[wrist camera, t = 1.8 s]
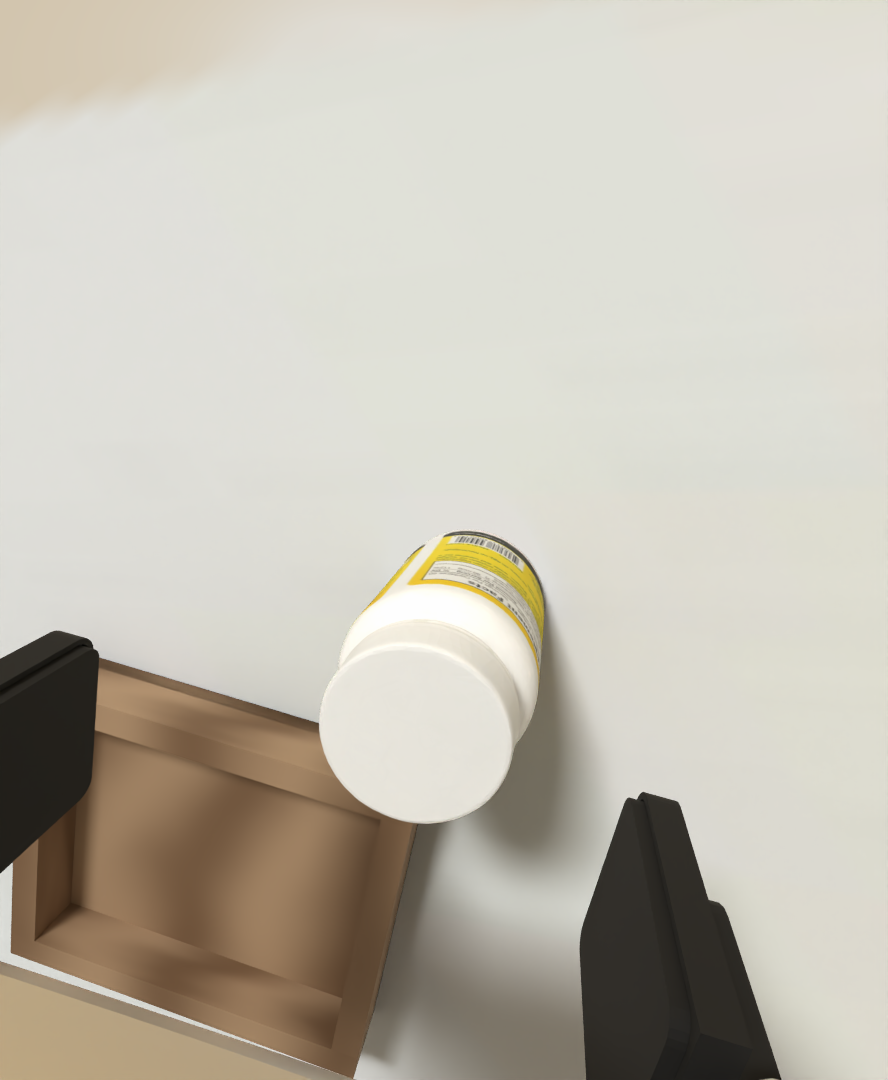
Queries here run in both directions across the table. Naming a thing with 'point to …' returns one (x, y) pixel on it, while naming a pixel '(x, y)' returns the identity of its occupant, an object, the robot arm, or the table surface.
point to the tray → (218, 872)
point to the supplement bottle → (437, 680)
